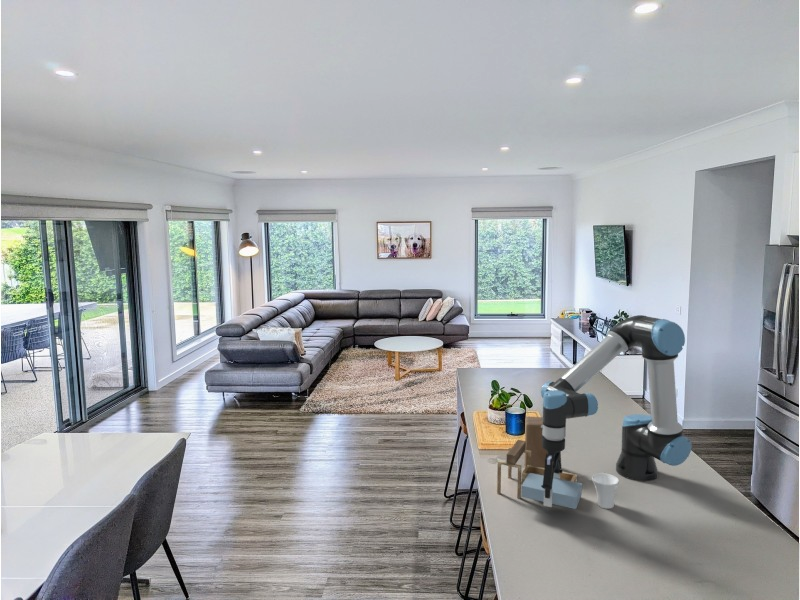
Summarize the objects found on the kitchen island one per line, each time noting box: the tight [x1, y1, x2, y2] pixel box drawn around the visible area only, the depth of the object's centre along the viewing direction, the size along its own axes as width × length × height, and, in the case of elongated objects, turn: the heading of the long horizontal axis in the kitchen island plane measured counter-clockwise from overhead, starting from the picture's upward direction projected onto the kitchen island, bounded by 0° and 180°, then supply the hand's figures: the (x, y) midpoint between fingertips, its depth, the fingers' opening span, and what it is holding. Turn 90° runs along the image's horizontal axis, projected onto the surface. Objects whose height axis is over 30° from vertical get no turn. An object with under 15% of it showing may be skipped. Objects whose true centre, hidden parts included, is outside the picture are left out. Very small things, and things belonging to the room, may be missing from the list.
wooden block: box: [524, 416, 548, 469], centre depth 218 cm, size 10×10×20 cm
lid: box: [521, 473, 583, 510], centre depth 184 cm, size 18×11×4 cm, turn 62°
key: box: [506, 439, 526, 465], centre depth 201 cm, size 3×15×4 cm, turn 152°
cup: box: [591, 472, 620, 510], centre depth 189 cm, size 9×9×10 cm
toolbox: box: [496, 446, 578, 499], centre depth 198 cm, size 26×15×12 cm, turn 62°
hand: (551, 498), depth 185 cm, fingers closed on lid, 11 cm apart
